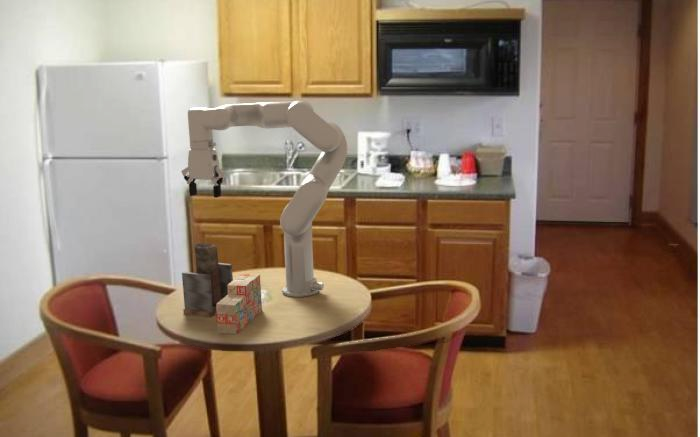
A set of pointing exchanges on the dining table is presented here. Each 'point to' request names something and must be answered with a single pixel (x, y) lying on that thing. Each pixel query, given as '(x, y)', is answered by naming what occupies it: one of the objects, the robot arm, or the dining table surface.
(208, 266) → the dark upright piece
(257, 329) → the dining table surface
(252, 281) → the stack of blocks
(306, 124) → the robot arm
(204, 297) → the shelf
